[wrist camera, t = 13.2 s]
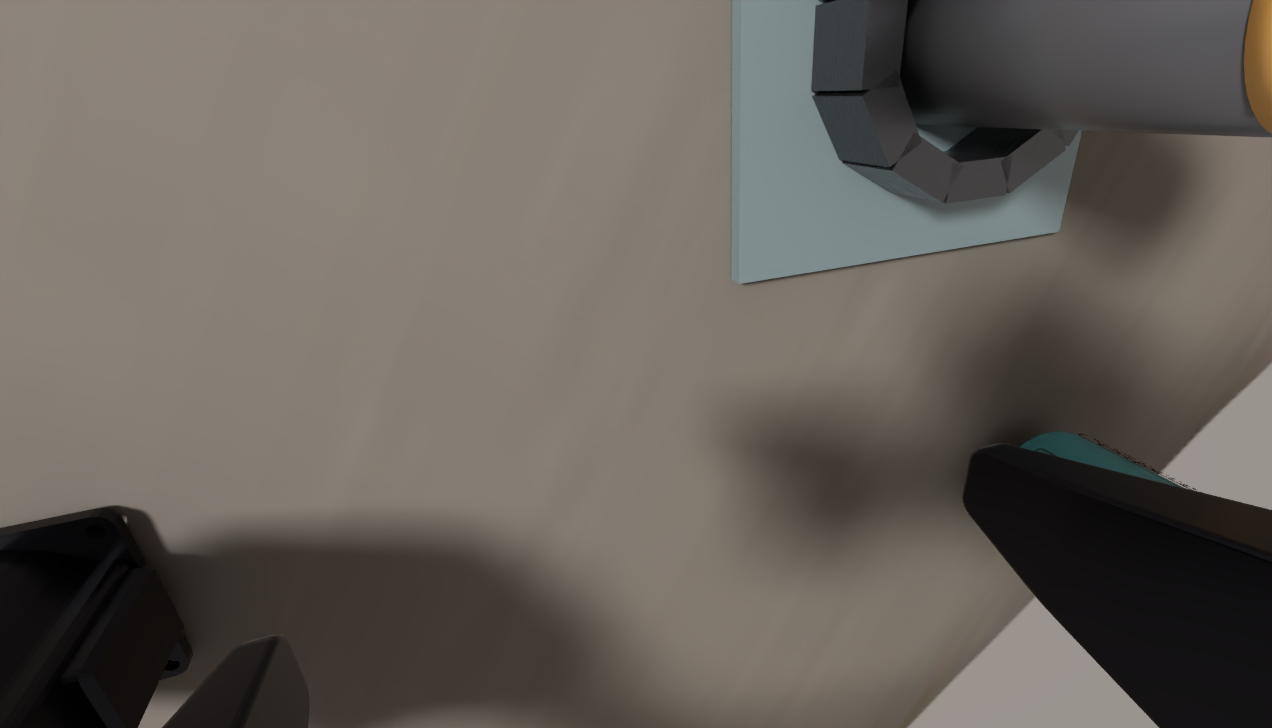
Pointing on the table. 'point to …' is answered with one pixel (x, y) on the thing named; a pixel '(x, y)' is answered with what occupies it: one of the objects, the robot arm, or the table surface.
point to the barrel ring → (907, 114)
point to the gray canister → (1091, 65)
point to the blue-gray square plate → (841, 170)
